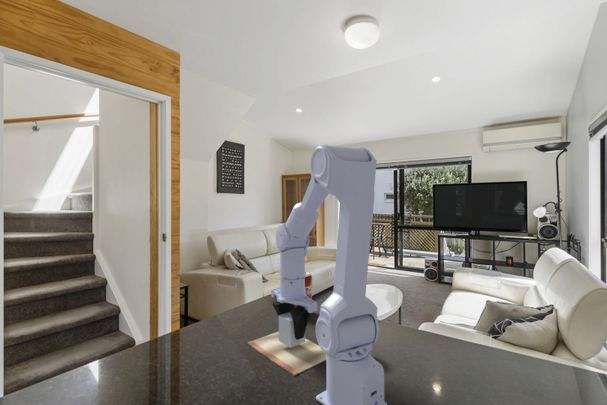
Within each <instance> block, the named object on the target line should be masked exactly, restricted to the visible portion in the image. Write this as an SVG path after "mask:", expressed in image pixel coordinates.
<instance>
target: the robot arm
mask: <svg viewBox="0 0 607 405" xmlns="http://www.w3.org/2000/svg"><path fill="white" fill-rule="evenodd" d="M310 157H311V158H310V161H309V171H310V177H311V178H310V180H309V183H308V186H307V188H306V191H305V194H304V195H303V198H302V201H300V202H297V203H295V205H294V206H293V208H292V210H291V212H290V214H289V215H288V218H287V220H286V222H285V223H282V224H280V225H278V226H277V227H276V231H275V243H276V246H277V248H278V251H279V257H280V258H279V259H280V260H279V264H280V265H279V266H280V267H279V271H280V272H279V277H280V278H279V281H280V285H279V286H280V287H275V288H272V289H271V290H270V292H271V293H270V294H271V298H273V299H274V298H275V299H276V301H274V302H272V307H273V308H274V310H275V313H276V315H277V317H278V319H279V315H282V314H285V313H288V312H290V313H291V316H292V319H293V323H294V334H295V338H296V339H297V340H299V339H301V338H304V335H305V336H306V330H307V326H308V324H309V320H310V318H311V316H312V315H313V313H315V312H318V302H317V301H315V300H313V298H312V299H310V298H309V297H308V296H307V295H305V272H306V268H305V265H306V260H305V258H306V257H307V256H308V248H309V245H310V236H309V235H310V233H311V231H312V230H313V228H314V227H315V225H316V224H317V221H318V220H319V217H320V216H319V212H318V209H319V208H320V206H322V204H323V203H324V201H325V200H326V199H327V197H328V195H329V194H330V195H332V196H335V198H336V200H338V202H339V214H338V216H339V217H338V226H337V227H338V228H337V240H336V241H337V242H336V254H335V264H334V265H335V267H334V268H335V269H334V279H333V290H332V291H333V292H332V293H331V294H330V295H329V296H328V298H326V299H325V300H324V302H322V304H320V309H319V314H318V317H317V320H316V323H315V337H316V342H317V345H319V346H320V348H321V349H322V350H323V351H324V352H325V353H326V360H325V362H326V389H325V390H324V391H323V392H320V393H319V394H318V395H316V397H315V400H316V401H318V403H320V404H322V405H388V403H387V401H385V369H384V367H383V364H382V363H380V362H379V361H378V360H376V359H375V357H373V356H372V354H371V353H370V352H371V351H373V344H375V343H376V342H377V341H378V338H379V336H380V325H379V320H378V306H376V304H375V303H374V301H372V300H371V299H370V298H368V297H367V296H366V294H367V282H368V271H369V261H370V260H369V259H370V250H371V249H370V248H371V241H372V240H371V238H372V229H373V228H372V226H373V218H374V205H375V184H376V182H375V181H376V171H377V164H378V163H377V159H376V158H375V156H374V155H373V154H372V153H371V151H370V150H369V149H368V148H367V147H349V146H337V145H327V144H323V143H322V144H318V145H317V146H316V148H314V150H313V152H312V154H311V156H310ZM294 305H296V306H297V308H294V309H293V307H294Z"/></svg>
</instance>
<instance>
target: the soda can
mask: <svg viewBox="0 0 607 405" xmlns="http://www.w3.org/2000/svg"><path fill="white" fill-rule="evenodd" d="M305 295H307V296H308V297H309V298H310V299H312V300H313V276H312V274H311V273H310V272H308V271H305ZM294 308H297V306H296V305H294V307H293V309H294Z"/></svg>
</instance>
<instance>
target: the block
mask: <svg viewBox="0 0 607 405" xmlns="http://www.w3.org/2000/svg"><path fill="white" fill-rule="evenodd" d="M278 331H279V341H280V342H281V343H283V344H285V345H287V346H288V347H290V348H291V347H294V346H296V345H298V344H301V343H303V342H305V339H306V334H305V335H304V338H301V339H299V340H297V339H296V338H295V334H294V323H293V319H292V316H291V313H290V312H288V313H285V314H282V315H279V318H278Z"/></svg>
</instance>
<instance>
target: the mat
mask: <svg viewBox="0 0 607 405" xmlns="http://www.w3.org/2000/svg"><path fill="white" fill-rule="evenodd" d="M246 344H247V345H248V346H250V347H251V348H253V349H255V350H256V351H257V352H259V353H260V354H262V355H263V356H264V357H266V358H268V359H269V360H271V362H272V363H275V364H276V365H278V366H279V367H281V368H282V369H283V370H285V371H287V372H288V373H289V374H291V375H292V376H293V377H295V376H297V375H299V374H301V373H303V372H305V371H306V370H309V369H311V368H314V367H315V366H317V365H319V364H322V363H323V362H326V353H325V352H324V351H323V350H322V349H321V348H320V346H319V344H318V343H317V344H316V343H315V342H313V341H312V340H309V339H307V338H305V342H303V343H301V344H298V345H296V346H294V347H291V348H290V347H288V346H287V345H285V344H283V343H281V342H280V341H279V330H277V331H275V332H273V333H270V334H268V335H265V336H262V337H258V338H257V339H254V340H250V341H247V342H246Z"/></svg>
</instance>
